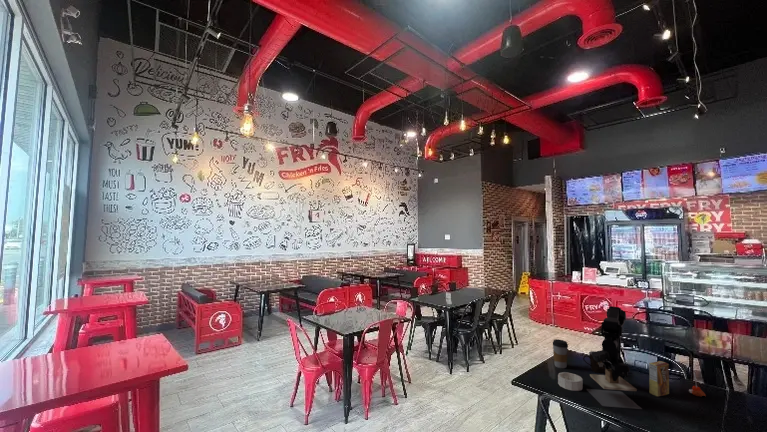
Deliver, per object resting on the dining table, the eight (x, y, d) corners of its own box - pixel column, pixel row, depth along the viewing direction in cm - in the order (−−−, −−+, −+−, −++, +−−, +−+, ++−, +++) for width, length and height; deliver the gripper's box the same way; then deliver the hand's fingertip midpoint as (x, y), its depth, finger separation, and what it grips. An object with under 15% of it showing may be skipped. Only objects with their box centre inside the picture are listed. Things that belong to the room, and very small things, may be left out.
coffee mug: (606, 370, 196) (606, 353, 197) (607, 375, 189) (606, 357, 190) (583, 365, 203) (583, 349, 203) (583, 370, 195) (583, 353, 196)
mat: (621, 392, 170) (621, 391, 170) (642, 410, 153) (642, 409, 153) (585, 389, 172) (585, 388, 172) (602, 407, 155) (602, 405, 155)
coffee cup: (570, 369, 196) (570, 344, 197) (555, 368, 198) (554, 343, 199) (565, 364, 205) (565, 339, 205) (551, 363, 206) (550, 338, 207)
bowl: (576, 382, 180) (576, 373, 180) (586, 392, 169) (586, 382, 169) (555, 381, 181) (555, 371, 182) (563, 390, 171) (563, 380, 171)
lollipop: (691, 398, 165) (690, 373, 165) (687, 390, 173) (687, 367, 173) (708, 401, 161) (707, 376, 162) (703, 393, 169) (703, 369, 170)
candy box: (660, 390, 172) (659, 360, 173) (669, 394, 168) (669, 363, 169) (649, 393, 169) (648, 362, 170) (658, 397, 165) (657, 365, 166)
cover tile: (619, 378, 168) (619, 366, 169) (636, 391, 155) (636, 378, 155) (589, 376, 170) (589, 364, 171) (604, 388, 157) (603, 375, 157)
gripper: (585, 339, 174) (585, 370, 173) (603, 352, 155) (604, 386, 154) (608, 340, 172) (608, 371, 171) (629, 354, 154) (630, 388, 153)
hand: (612, 379), depth 163 cm, fingers closed on cover tile, 4 cm apart
